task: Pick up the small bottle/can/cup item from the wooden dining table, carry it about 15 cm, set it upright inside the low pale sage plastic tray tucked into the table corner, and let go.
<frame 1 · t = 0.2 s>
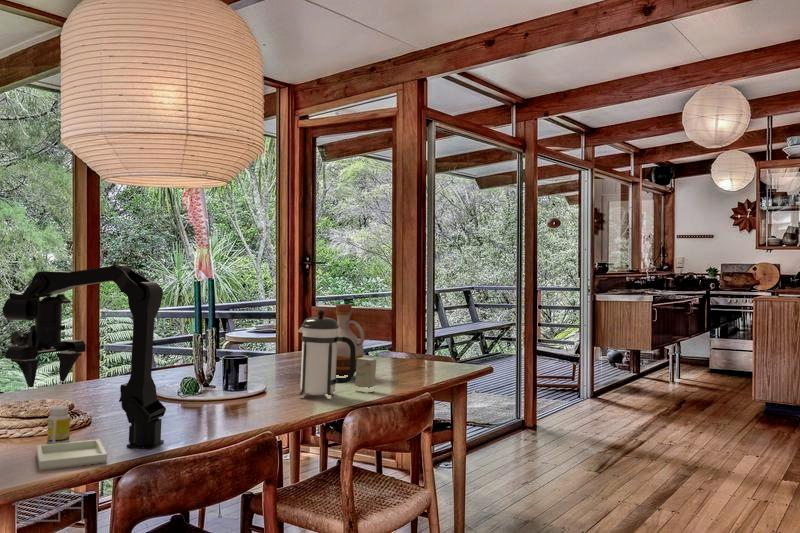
hand: (46, 384, 159), 13 cm above the table, fingers open, 9 cm apart
jug: (342, 378, 260), on the table
skincare box: (364, 392, 233), on the table
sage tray: (70, 458, 143), on the table
supplement bottle: (58, 442, 156), on the table
coffee press: (321, 396, 222), on the table
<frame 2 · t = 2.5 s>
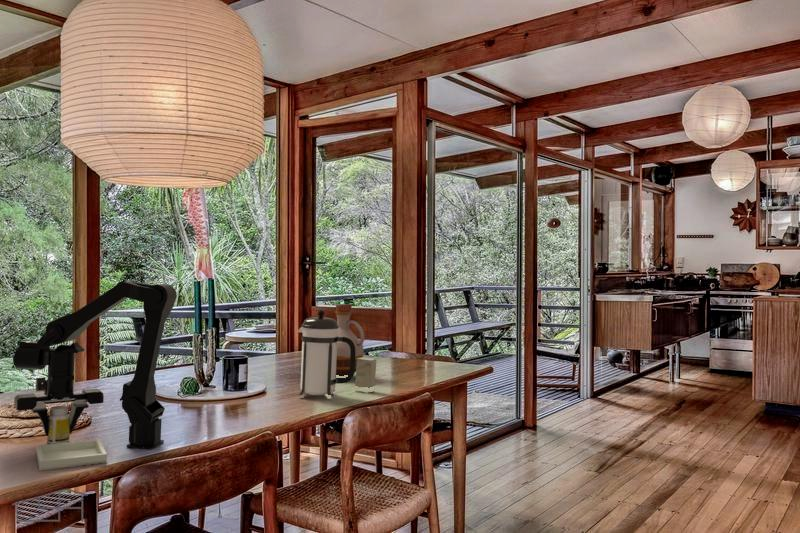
hand: (58, 434, 156), 2 cm above the table, fingers closed on supplement bottle, 5 cm apart
supplement bottle: (58, 442, 156), on the table, touching gripper
everything else where it was.
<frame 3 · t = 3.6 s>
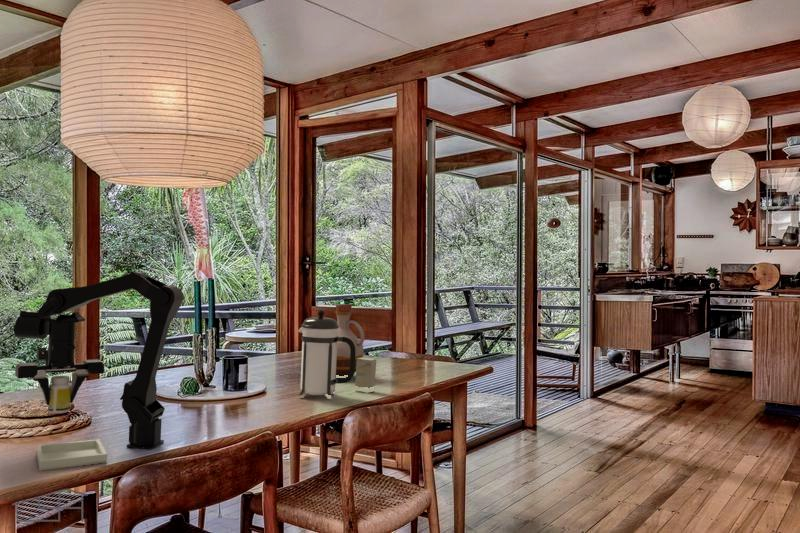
hand: (59, 403, 156), 9 cm above the table, fingers closed on supplement bottle, 5 cm apart
supplement bottle: (58, 412, 156), point 7 cm above the table, touching gripper
everything else where it was.
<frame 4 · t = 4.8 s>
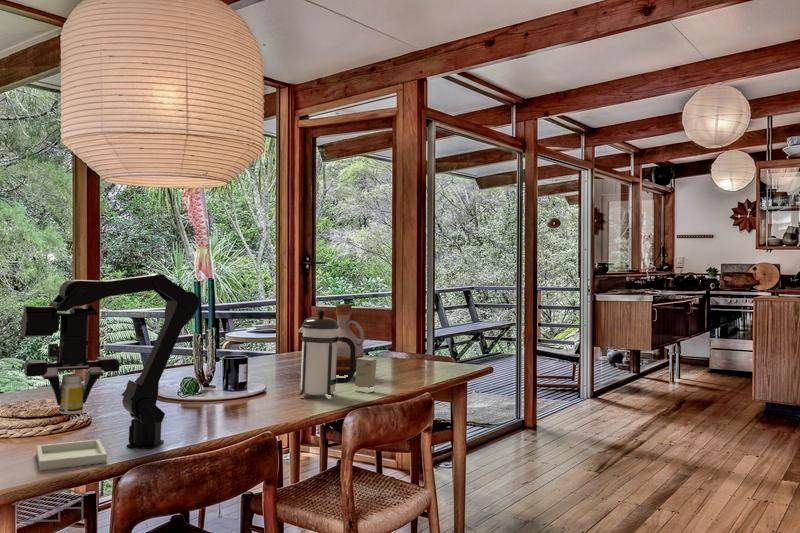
hand: (71, 404, 145), 12 cm above the table, fingers closed on supplement bottle, 5 cm apart
supplement bottle: (70, 412, 145), point 10 cm above the table, touching gripper
everything else where it was.
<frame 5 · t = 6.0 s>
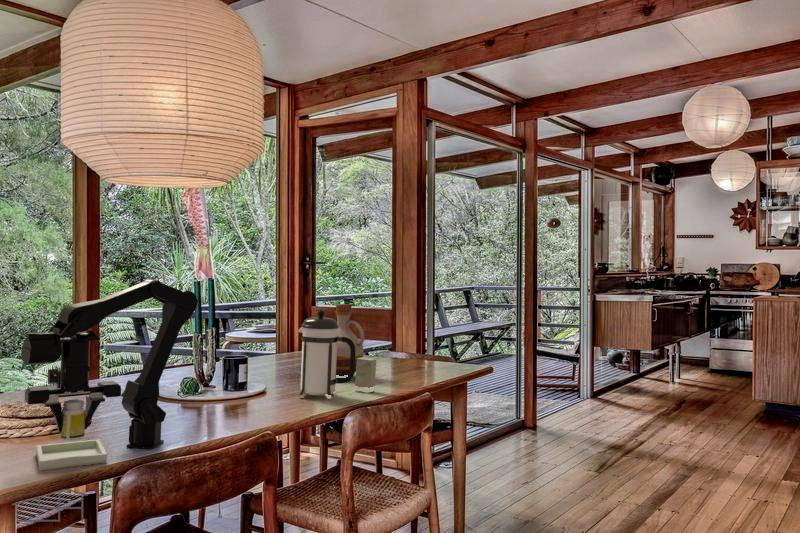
hand: (72, 430, 144), 6 cm above the table, fingers closed on supplement bottle, 5 cm apart
supplement bottle: (72, 439, 144), point 4 cm above the table, touching gripper
everything else where it was.
when the fingers open (4 cm above the table, at t = 7.2 s): supplement bottle drops 2 cm, resting on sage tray.
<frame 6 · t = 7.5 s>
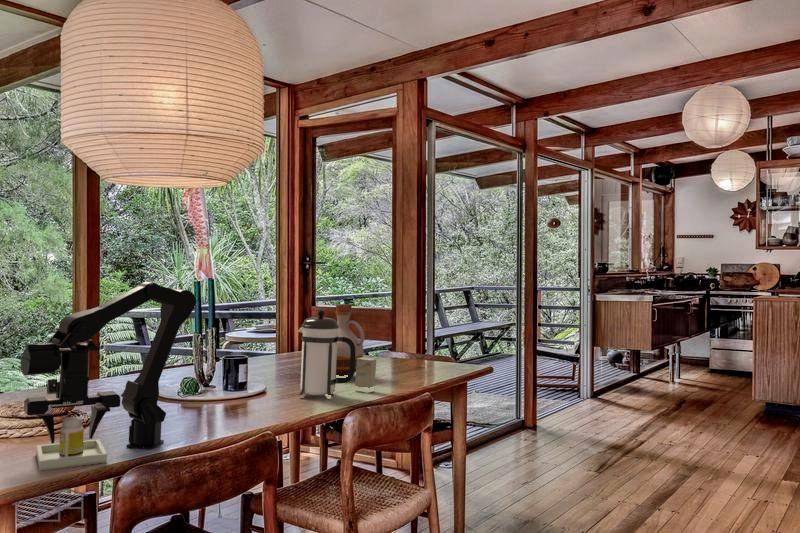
hand: (71, 440, 143), 4 cm above the table, fingers open, 7 cm apart
supplement bottle: (71, 457, 143), resting on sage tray
everything else where it was.
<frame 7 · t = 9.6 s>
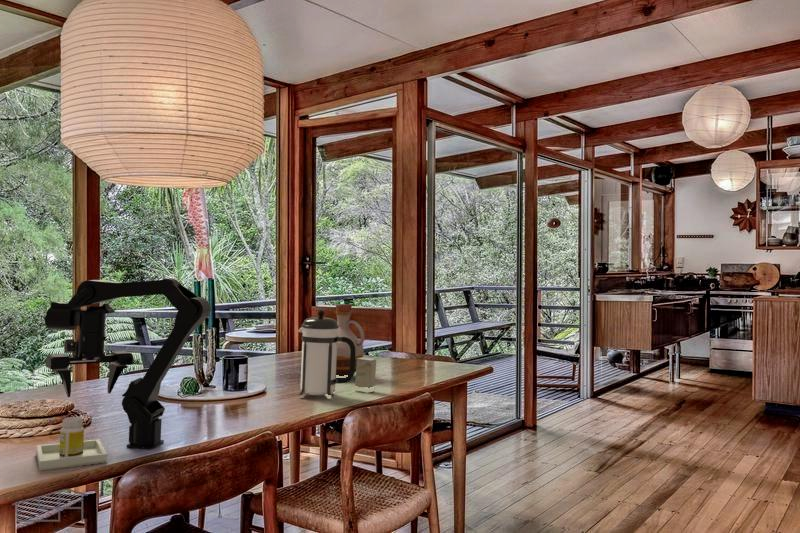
hand: (89, 395, 156), 12 cm above the table, fingers open, 9 cm apart
nothing on the table moved.
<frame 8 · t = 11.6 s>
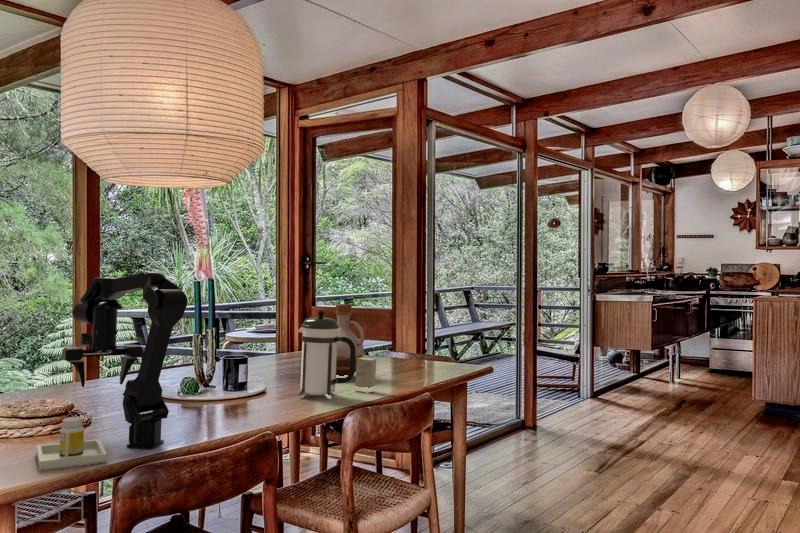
hand: (102, 385, 166), 12 cm above the table, fingers open, 9 cm apart
nothing on the table moved.
at the end: supplement bottle inside the target area on the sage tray (0.0 cm from its centre), point 0.3 cm above the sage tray's base; supplement bottle tilted 0°; the gripper is holding nothing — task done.
